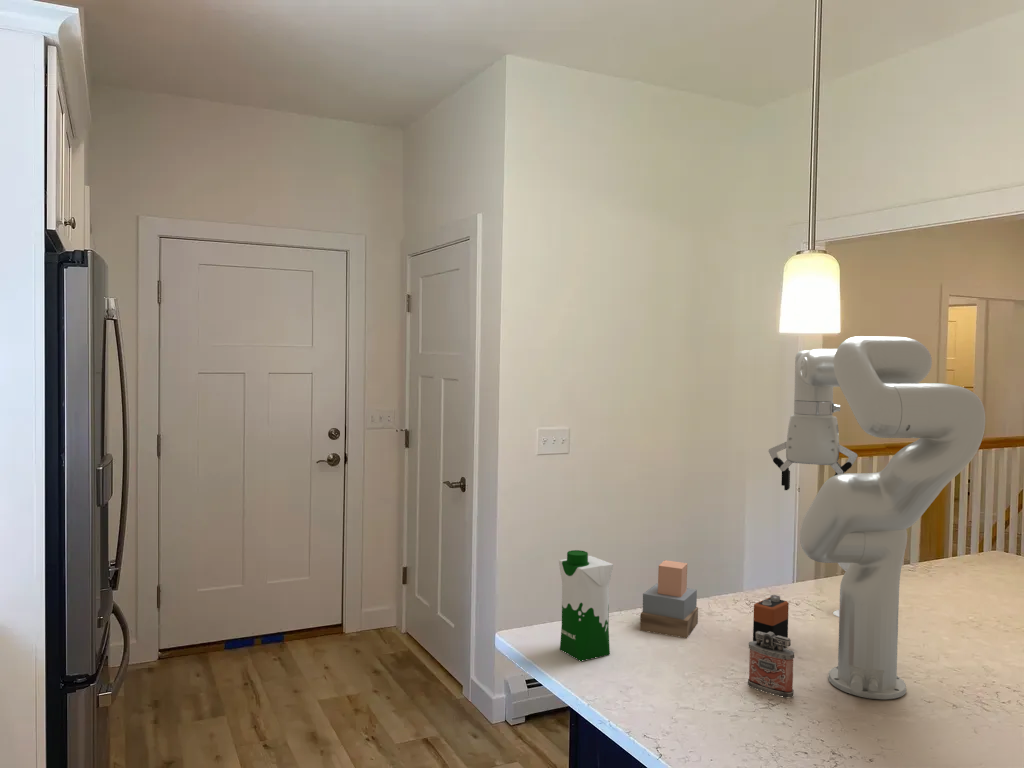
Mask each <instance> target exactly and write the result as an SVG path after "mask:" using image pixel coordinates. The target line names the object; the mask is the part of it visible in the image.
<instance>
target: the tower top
mask: <svg viewBox="0 0 1024 768" xmlns="http://www.w3.org/2000/svg"><path fill="white" fill-rule="evenodd" d="M697 594H698V589H695V588H689V587H687V591H686V592H685V593H684V594H683V595H682V597H677V596H671V595H665V594H658V582H657V583H655V584H654V585H652V586H651V587H650V588H649V589H647V590H646V591H644V592H643V593H642V612H644V613H649V614H655V615H660V616H666V617H671V618H677V619H682V620H684V619H685V618H686V617H687V616H688V615H689V614H690V613H691V612H693V611H694V610H695V609H696V607H698V606H697V602H698V601H697V598H698V597H697V596H698V595H697Z"/></svg>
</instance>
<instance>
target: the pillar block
mask: <svg viewBox="0 0 1024 768" xmlns="http://www.w3.org/2000/svg"><path fill="white" fill-rule="evenodd" d="M657 570H658V573H657V583H658V594H665V595H671V596H677V597H682V595H683V594H684V593H685V592H686V591H687V588H688V563H686V562H682V561H681V562H680V561H674V560H666V559H665V560H663V561H662V562H661V563H660V564H659V565H658V569H657Z"/></svg>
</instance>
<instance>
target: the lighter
mask: <svg viewBox="0 0 1024 768" xmlns="http://www.w3.org/2000/svg"><path fill="white" fill-rule="evenodd" d="M761 641H762V642H761ZM791 643H792V640H791V639H790V638H789V637H788V638H786V637H783V636H779V635H778V636H775V634H774V633H773V632H768V633H764V632H760V631H757V632H756V641H753V640H751V641H748V649H749V659H748V660H749V665H748V669H749V670H748V673H749V674H748V679H747V686H748V685H749V686H748V687H750V686H751V687H750V688H752V687H753V688H752V689H754V688H756V689H758V690H757V691H759V690H762V691H764V692H763V693H765V692H767V693H766V694H768V693H771V694H774V695H773V696H775V695H779V696H783V697H782V698H784V697H792V696H793V695H794V689H793V687H794V686H793V684H794V682H793V681H794V659H795V651H793V650H791V649H788V648H789V647H791ZM778 644H779V645H778ZM783 646H785V647H783ZM786 647H787V648H786ZM756 689H755V690H756ZM762 691H761V692H762ZM771 694H770V695H771ZM779 696H778V697H779ZM793 697H794V696H793ZM793 697H792V698H793Z"/></svg>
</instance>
